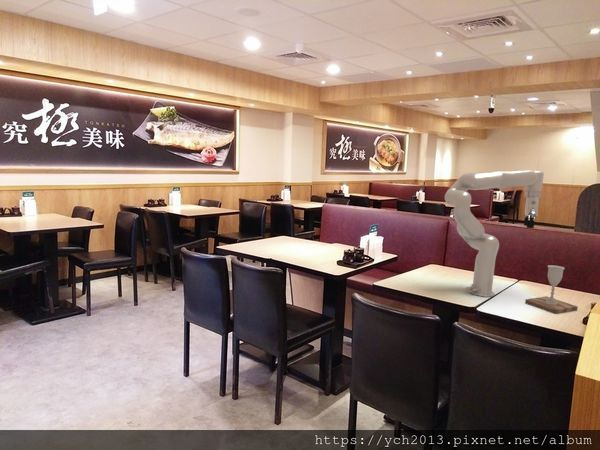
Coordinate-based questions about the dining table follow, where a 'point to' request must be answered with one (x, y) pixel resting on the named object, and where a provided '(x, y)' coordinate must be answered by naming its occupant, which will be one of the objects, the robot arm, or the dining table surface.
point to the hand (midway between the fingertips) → (528, 226)
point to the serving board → (551, 305)
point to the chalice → (554, 280)
